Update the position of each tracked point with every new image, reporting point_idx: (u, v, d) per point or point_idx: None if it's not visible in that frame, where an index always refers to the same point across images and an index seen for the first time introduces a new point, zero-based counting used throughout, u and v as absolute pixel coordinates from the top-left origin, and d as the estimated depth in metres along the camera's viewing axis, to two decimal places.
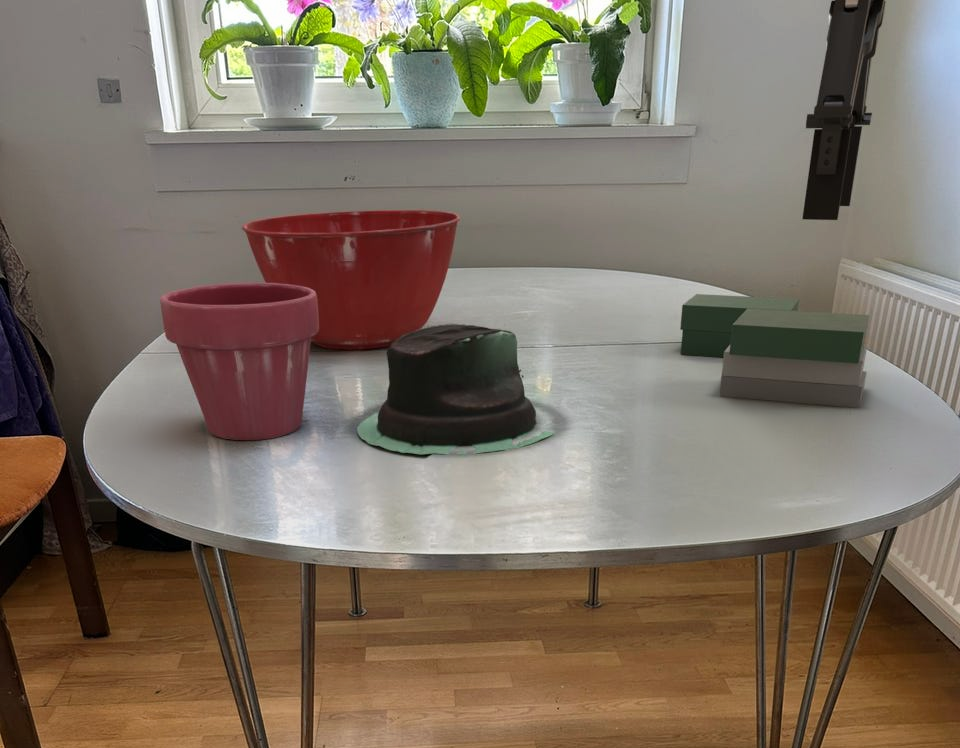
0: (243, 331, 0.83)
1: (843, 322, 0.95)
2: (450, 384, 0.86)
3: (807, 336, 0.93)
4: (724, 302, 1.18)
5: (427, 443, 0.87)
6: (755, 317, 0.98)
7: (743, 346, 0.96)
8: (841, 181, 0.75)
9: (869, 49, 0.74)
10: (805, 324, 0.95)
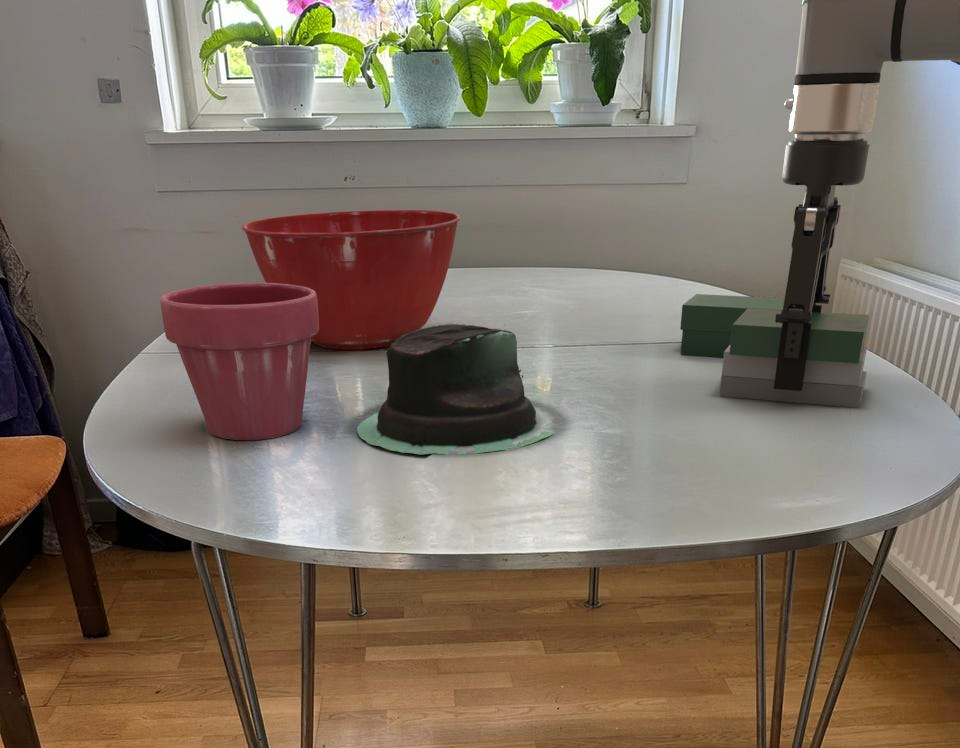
0: (243, 331, 0.83)
1: (843, 322, 0.95)
2: (450, 384, 0.86)
3: None
4: (724, 302, 1.18)
5: (427, 443, 0.87)
6: (755, 317, 0.98)
7: (743, 346, 0.96)
8: (804, 362, 0.94)
9: (826, 252, 0.91)
10: None
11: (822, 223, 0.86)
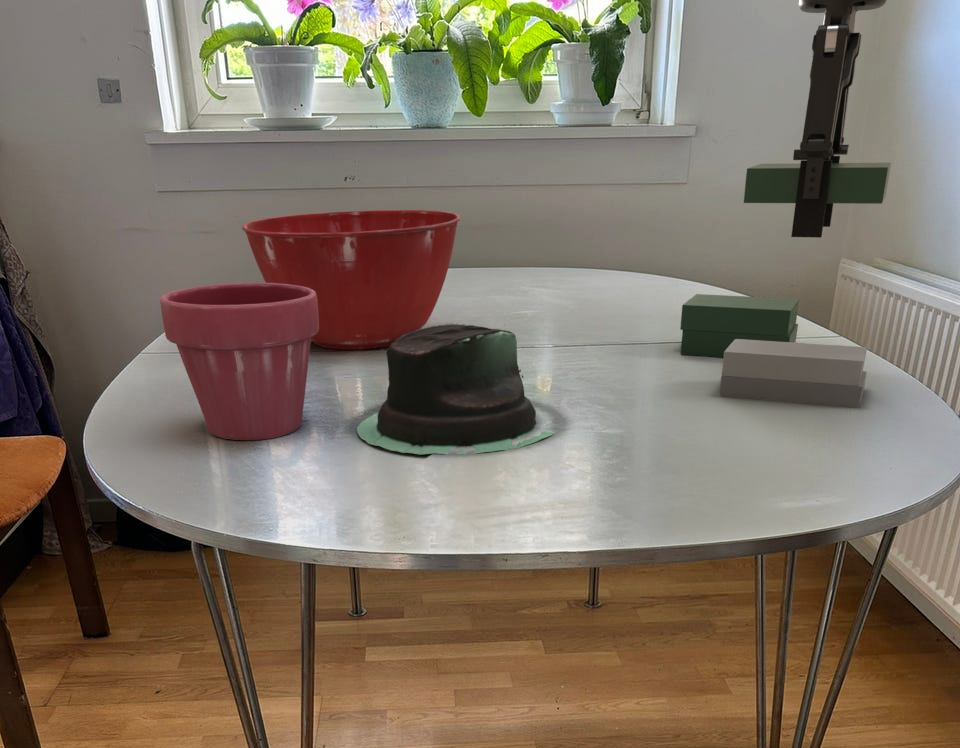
0: (243, 331, 0.83)
1: None
2: (450, 384, 0.86)
3: None
4: (724, 302, 1.18)
5: (427, 443, 0.87)
6: None
7: (758, 193, 0.90)
8: (824, 204, 0.88)
9: (847, 82, 0.85)
10: None
11: (844, 42, 0.81)
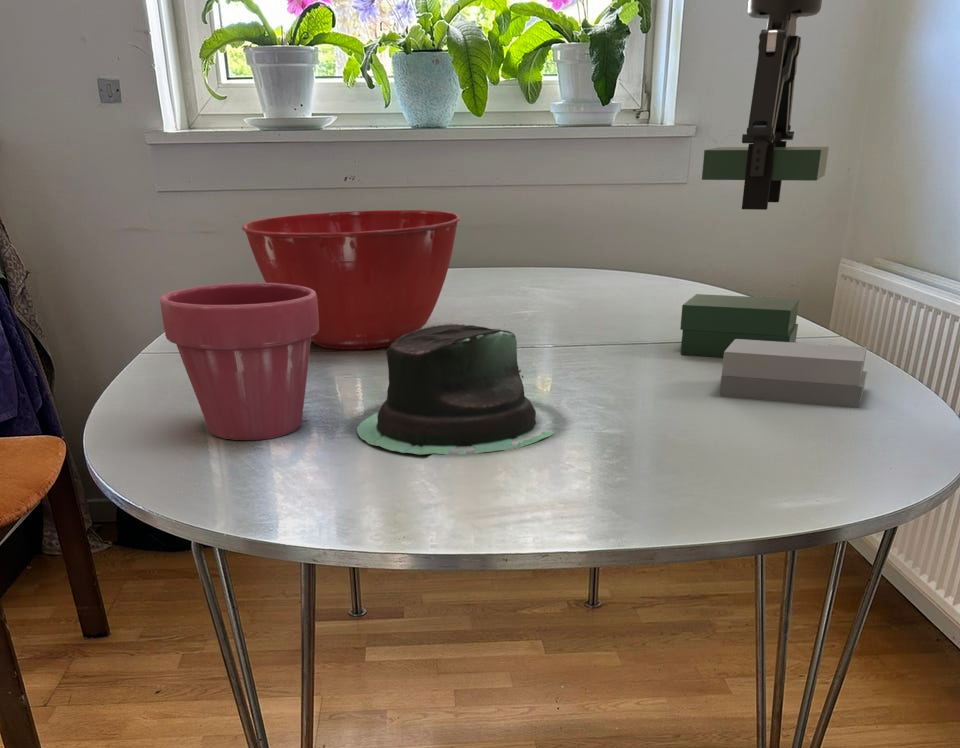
0: (243, 331, 0.83)
1: None
2: (450, 384, 0.86)
3: None
4: (724, 302, 1.18)
5: (427, 443, 0.87)
6: (725, 148, 1.09)
7: (713, 171, 1.06)
8: (768, 181, 1.04)
9: (788, 77, 1.01)
10: None
11: (782, 43, 0.97)
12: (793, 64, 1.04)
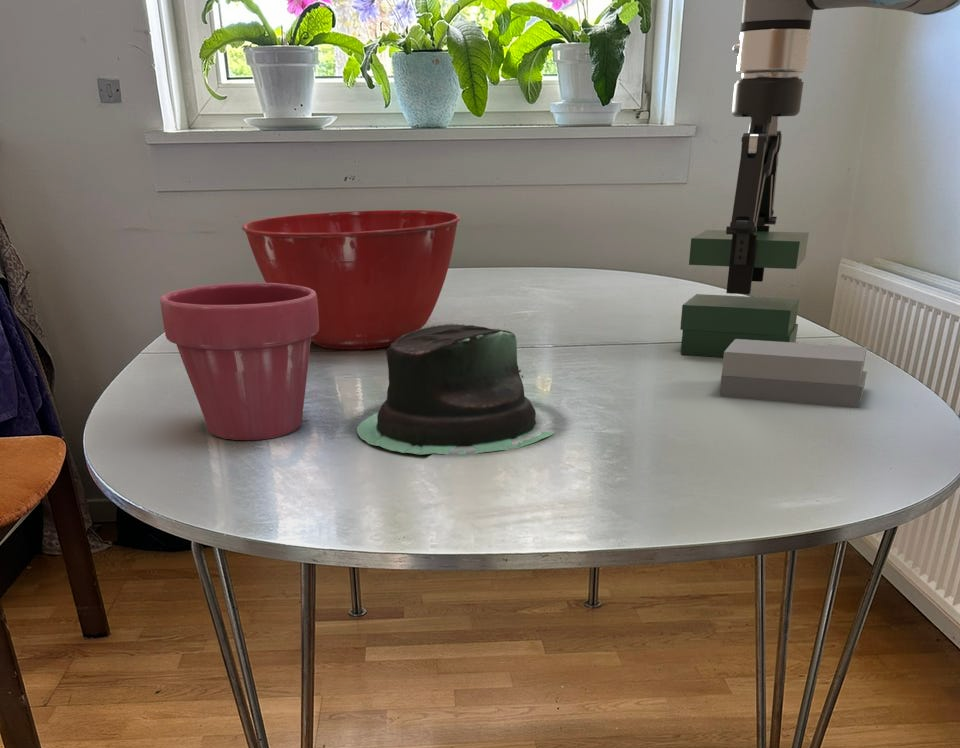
0: (243, 331, 0.83)
1: (785, 236, 1.13)
2: (449, 384, 0.86)
3: None
4: (724, 302, 1.18)
5: (427, 443, 0.87)
6: (711, 234, 1.16)
7: (700, 257, 1.13)
8: (751, 269, 1.11)
9: (769, 174, 1.08)
10: None
11: (763, 146, 1.04)
12: (774, 159, 1.11)
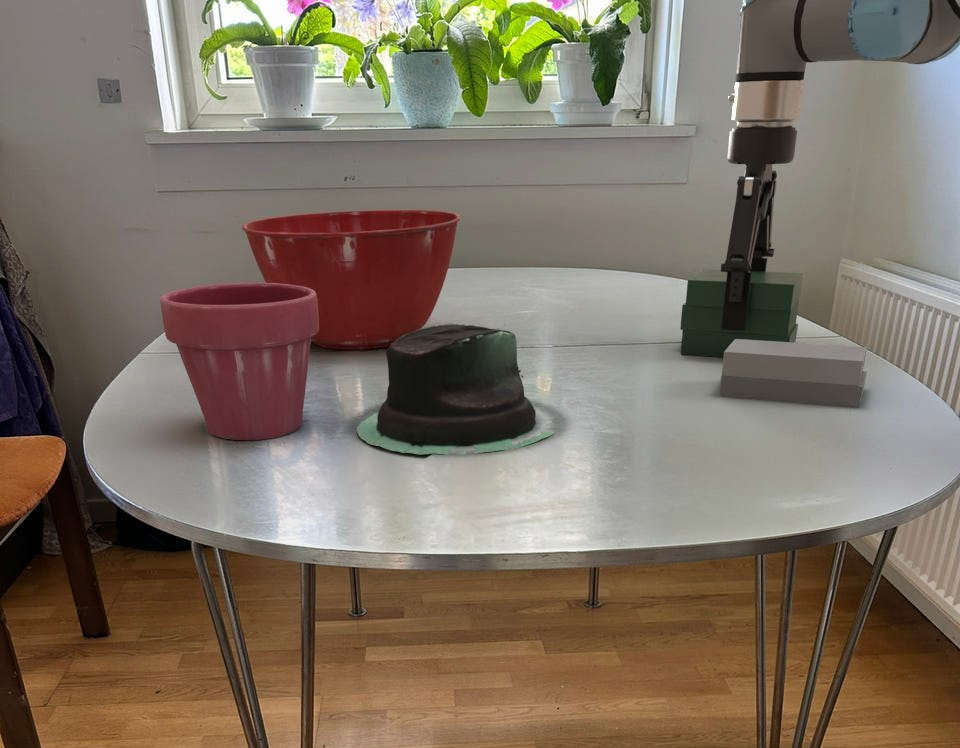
0: (243, 331, 0.83)
1: (779, 278, 1.15)
2: (449, 384, 0.86)
3: None
4: None
5: (427, 443, 0.87)
6: (708, 275, 1.18)
7: (696, 298, 1.15)
8: (746, 306, 1.12)
9: (763, 217, 1.10)
10: None
11: (758, 189, 1.06)
12: (770, 203, 1.14)
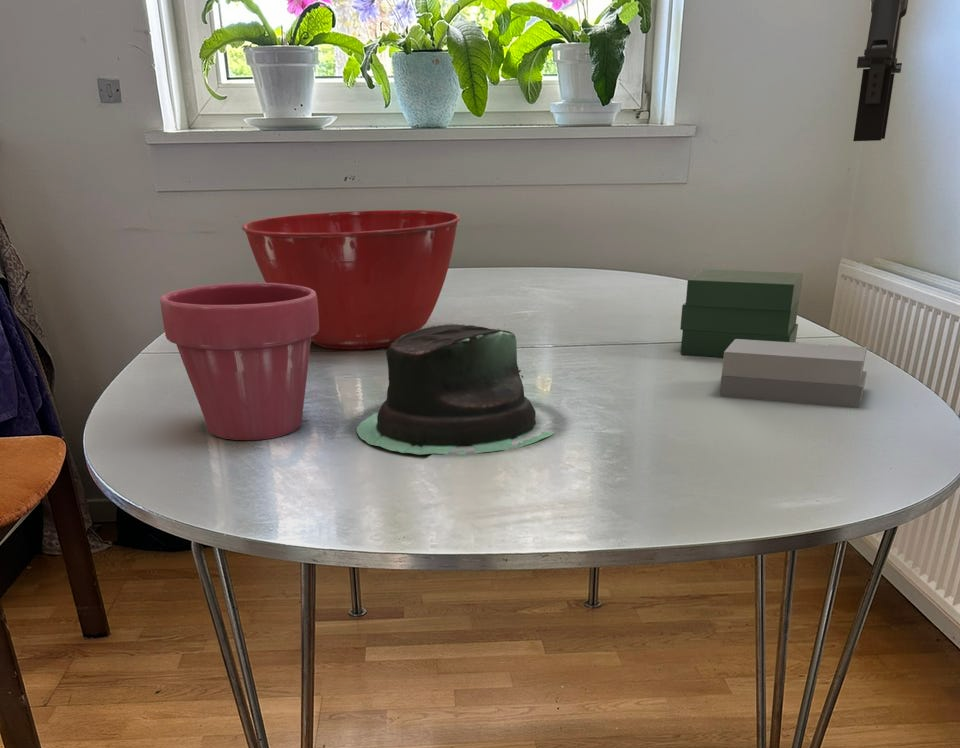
0: (243, 331, 0.83)
1: (779, 278, 1.15)
2: (449, 384, 0.86)
3: (748, 288, 1.13)
4: None
5: (427, 443, 0.87)
6: (708, 275, 1.18)
7: (696, 298, 1.15)
8: (884, 109, 0.97)
9: (904, 7, 0.96)
10: (748, 279, 1.14)
11: None
12: None
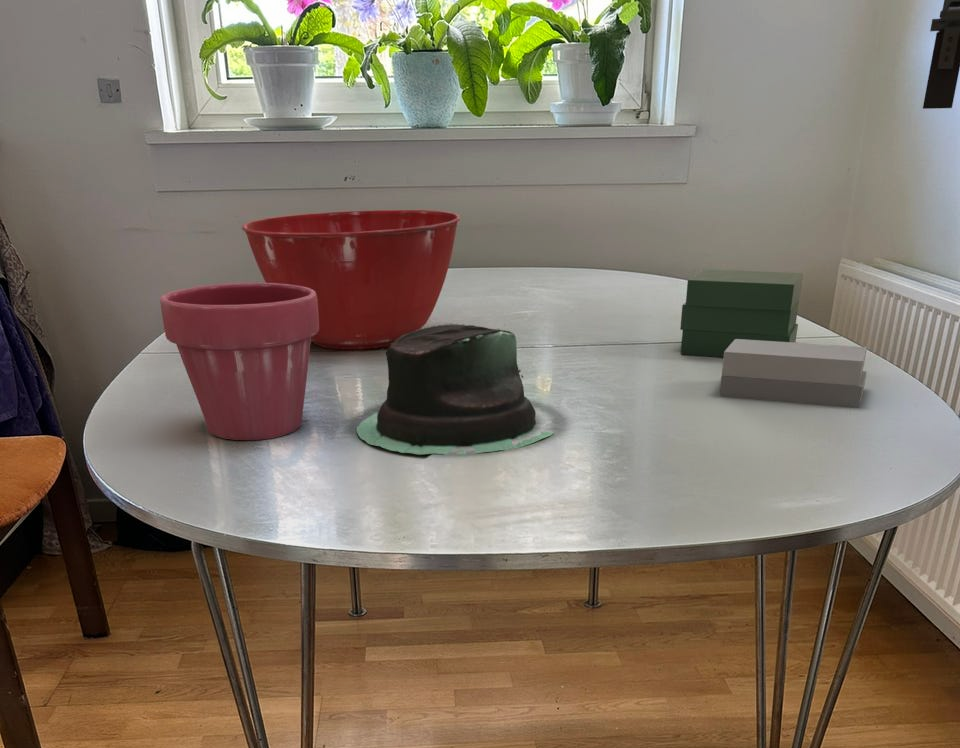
0: (243, 331, 0.83)
1: (779, 278, 1.15)
2: (449, 384, 0.86)
3: (748, 288, 1.13)
4: None
5: (426, 443, 0.87)
6: (708, 275, 1.18)
7: (696, 298, 1.15)
8: (957, 75, 0.93)
9: None
10: (748, 279, 1.14)
11: None
12: None
